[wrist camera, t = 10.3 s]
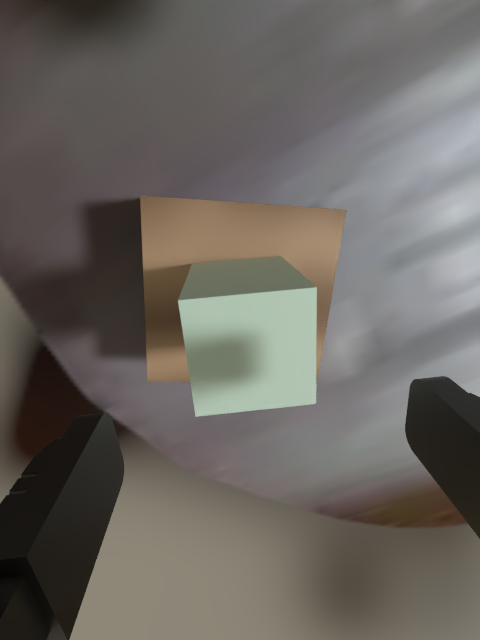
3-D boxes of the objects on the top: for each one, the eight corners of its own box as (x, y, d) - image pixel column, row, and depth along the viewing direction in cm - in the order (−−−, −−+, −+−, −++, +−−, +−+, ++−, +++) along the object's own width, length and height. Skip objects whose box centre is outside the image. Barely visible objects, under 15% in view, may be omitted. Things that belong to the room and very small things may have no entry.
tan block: (157, 196, 21) (140, 195, 17) (319, 207, 22) (346, 209, 17) (160, 347, 25) (147, 380, 20) (298, 351, 26) (316, 384, 21)
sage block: (192, 263, 18) (178, 300, 11) (280, 255, 18) (316, 287, 12) (202, 344, 20) (195, 416, 13) (283, 336, 20) (316, 403, 13)
